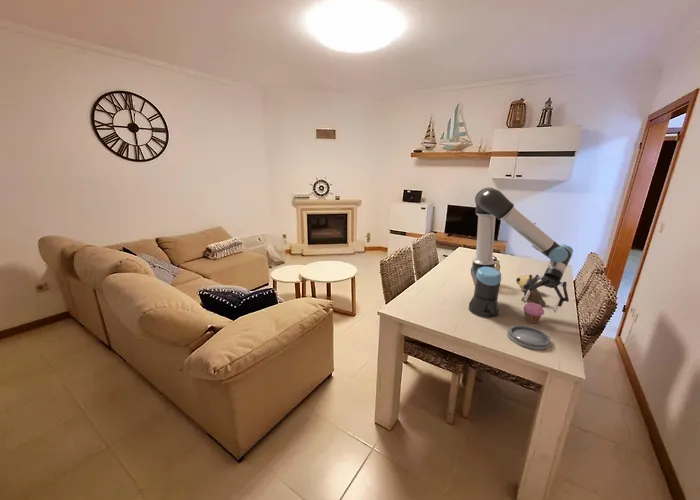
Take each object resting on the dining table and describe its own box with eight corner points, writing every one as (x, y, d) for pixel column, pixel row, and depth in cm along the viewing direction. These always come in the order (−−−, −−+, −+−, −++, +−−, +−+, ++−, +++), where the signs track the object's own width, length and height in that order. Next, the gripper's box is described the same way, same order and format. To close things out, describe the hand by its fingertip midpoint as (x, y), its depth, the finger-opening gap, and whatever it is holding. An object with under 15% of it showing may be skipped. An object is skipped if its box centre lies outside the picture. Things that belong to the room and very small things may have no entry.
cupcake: (545, 325, 144) (549, 307, 142) (528, 326, 144) (532, 307, 141) (533, 316, 153) (536, 299, 150) (517, 317, 152) (520, 299, 150)
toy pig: (520, 286, 193) (523, 270, 190) (539, 292, 183) (542, 276, 180) (511, 288, 188) (514, 273, 185) (530, 295, 178) (534, 279, 175)
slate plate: (499, 336, 135) (500, 331, 135) (518, 325, 144) (519, 321, 144) (539, 355, 122) (540, 350, 121) (557, 342, 131) (558, 337, 130)
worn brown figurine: (520, 304, 173) (518, 274, 171) (524, 301, 176) (522, 272, 174) (543, 307, 163) (541, 276, 161) (547, 305, 166) (545, 274, 164)
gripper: (584, 282, 145) (568, 318, 140) (529, 268, 164) (514, 300, 159) (584, 274, 141) (567, 312, 136) (527, 261, 159) (511, 294, 154)
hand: (538, 306), depth 147 cm, fingers open, 13 cm apart
